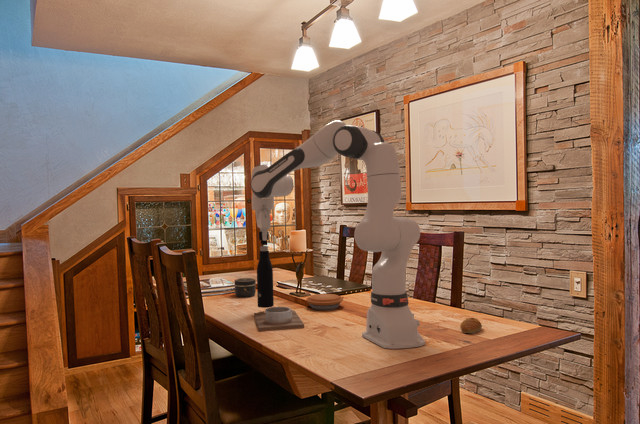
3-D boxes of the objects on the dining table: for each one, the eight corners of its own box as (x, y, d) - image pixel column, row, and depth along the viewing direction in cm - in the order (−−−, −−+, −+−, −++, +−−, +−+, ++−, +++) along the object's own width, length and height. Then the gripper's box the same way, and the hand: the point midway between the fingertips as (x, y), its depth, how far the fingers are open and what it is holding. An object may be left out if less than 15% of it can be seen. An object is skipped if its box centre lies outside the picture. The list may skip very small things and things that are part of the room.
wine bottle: (275, 304, 197) (273, 231, 197) (271, 307, 191) (270, 232, 190) (259, 304, 198) (257, 231, 197) (256, 307, 192) (254, 232, 191)
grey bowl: (293, 322, 173) (293, 311, 173) (266, 324, 171) (266, 313, 171) (289, 316, 182) (289, 305, 182) (264, 318, 180) (264, 307, 180)
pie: (299, 310, 198) (299, 298, 198) (316, 302, 212) (315, 290, 212) (334, 313, 192) (334, 300, 192) (348, 304, 206) (348, 293, 206)
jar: (235, 298, 223) (234, 282, 222) (234, 294, 232) (233, 278, 232) (257, 297, 225) (256, 280, 225) (254, 293, 235) (254, 277, 235)
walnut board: (304, 327, 171) (304, 324, 171) (258, 331, 167) (258, 327, 167) (294, 313, 192) (294, 310, 192) (253, 316, 189) (253, 313, 189)
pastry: (478, 336, 158) (478, 324, 157) (457, 334, 161) (457, 322, 160) (482, 328, 166) (482, 317, 166) (462, 327, 169) (462, 316, 169)
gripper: (273, 205, 184) (274, 241, 184) (268, 205, 204) (269, 237, 204) (257, 205, 183) (258, 242, 183) (253, 205, 203) (254, 238, 203)
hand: (264, 239), depth 194 cm, fingers closed on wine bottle, 4 cm apart
